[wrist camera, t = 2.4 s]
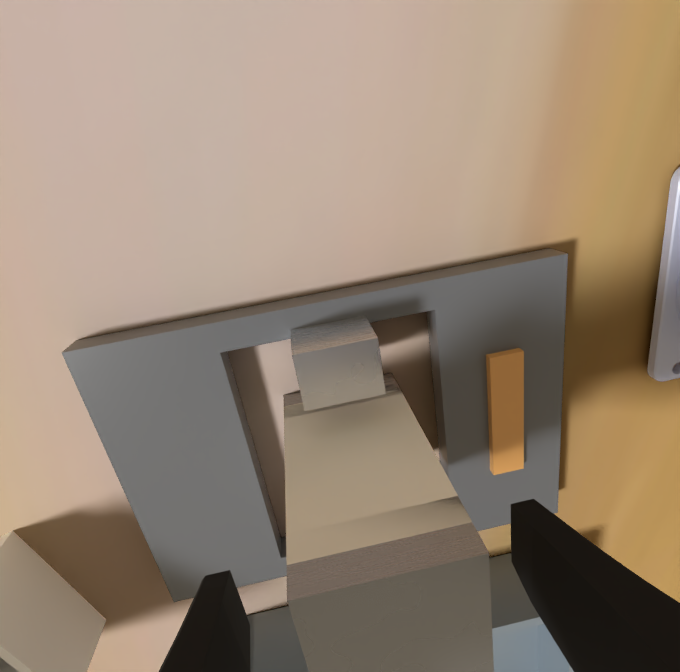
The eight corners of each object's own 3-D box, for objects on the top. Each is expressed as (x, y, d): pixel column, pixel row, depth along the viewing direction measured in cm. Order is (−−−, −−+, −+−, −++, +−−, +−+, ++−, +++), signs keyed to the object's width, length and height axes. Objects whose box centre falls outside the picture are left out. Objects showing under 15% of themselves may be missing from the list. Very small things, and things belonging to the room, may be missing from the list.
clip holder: (550, 248, 15) (612, 266, 12) (544, 495, 19) (589, 551, 16) (76, 340, 14) (24, 383, 11) (179, 579, 18) (161, 654, 15)
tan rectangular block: (391, 372, 16) (489, 553, 8) (403, 460, 17) (494, 678, 10) (283, 395, 16) (287, 600, 8) (304, 481, 17) (323, 721, 10)
